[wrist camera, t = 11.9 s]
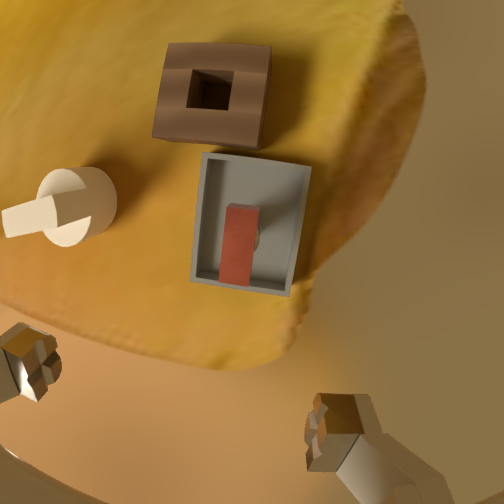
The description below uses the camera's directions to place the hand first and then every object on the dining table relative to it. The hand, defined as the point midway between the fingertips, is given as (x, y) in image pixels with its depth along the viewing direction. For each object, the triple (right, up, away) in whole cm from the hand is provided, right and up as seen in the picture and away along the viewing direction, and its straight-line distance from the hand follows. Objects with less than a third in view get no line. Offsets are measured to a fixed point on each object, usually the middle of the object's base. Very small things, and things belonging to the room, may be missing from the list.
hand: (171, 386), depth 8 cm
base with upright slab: (-19, +10, +27) cm, 34 cm away
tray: (+2, +7, +26) cm, 27 cm away
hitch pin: (+2, +7, +25) cm, 26 cm away
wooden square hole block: (-1, +20, +22) cm, 30 cm away
